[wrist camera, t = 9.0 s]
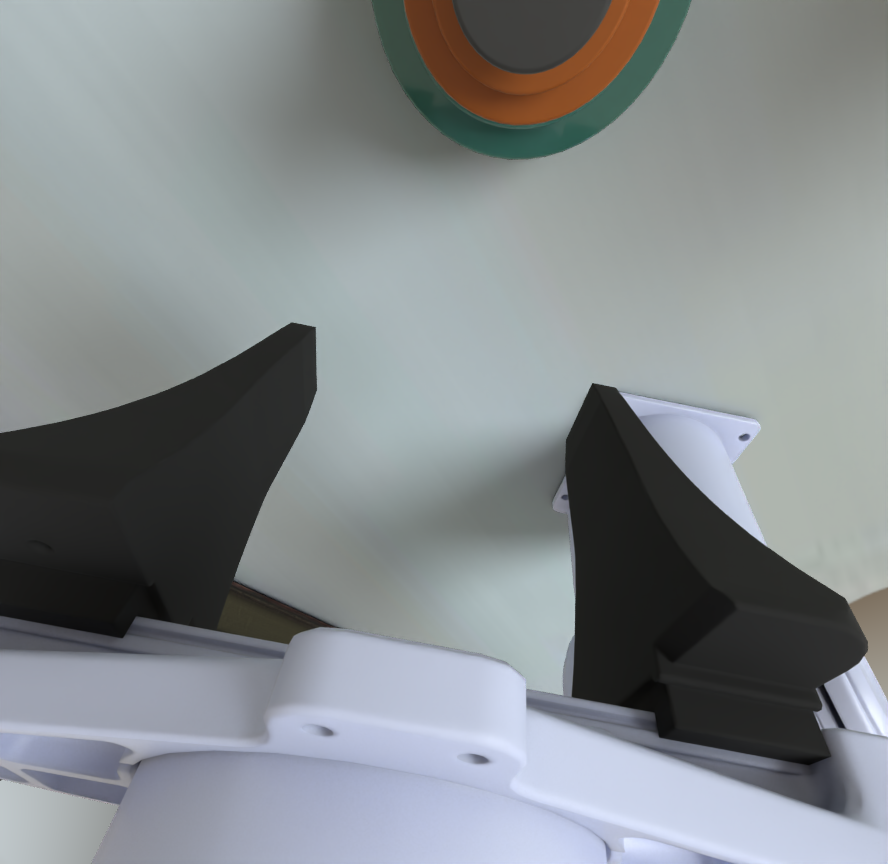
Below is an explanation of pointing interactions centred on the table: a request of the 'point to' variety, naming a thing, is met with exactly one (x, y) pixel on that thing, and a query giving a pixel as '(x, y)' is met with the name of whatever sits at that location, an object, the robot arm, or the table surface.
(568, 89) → the amber bottle
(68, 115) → the table surface
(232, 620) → the diary
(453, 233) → the table surface
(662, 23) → the green round container
